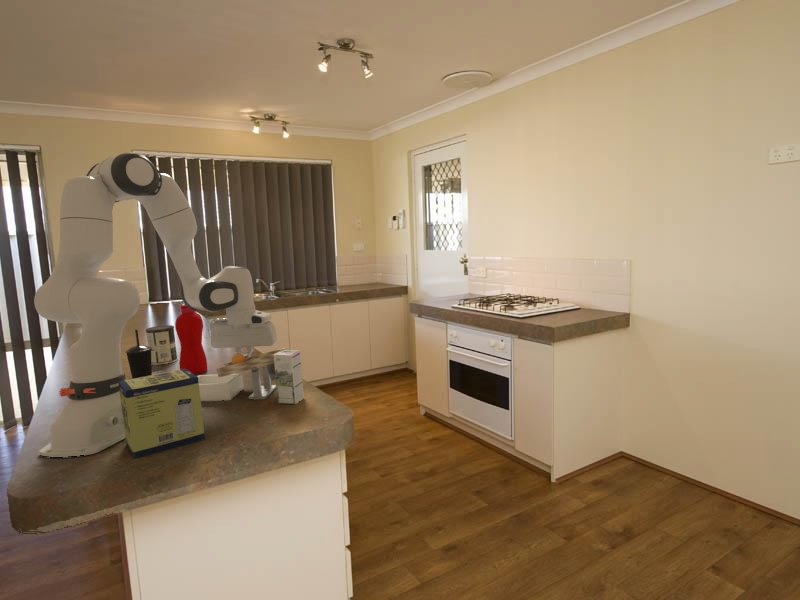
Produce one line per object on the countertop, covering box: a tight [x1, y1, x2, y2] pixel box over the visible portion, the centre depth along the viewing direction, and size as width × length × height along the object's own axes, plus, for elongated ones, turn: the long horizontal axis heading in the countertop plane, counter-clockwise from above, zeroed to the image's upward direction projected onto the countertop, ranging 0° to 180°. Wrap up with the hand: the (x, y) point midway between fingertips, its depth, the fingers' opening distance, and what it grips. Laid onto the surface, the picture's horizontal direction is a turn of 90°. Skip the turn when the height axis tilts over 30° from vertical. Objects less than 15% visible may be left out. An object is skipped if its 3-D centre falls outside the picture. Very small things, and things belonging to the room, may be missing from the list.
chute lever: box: [216, 347, 288, 382], centre depth 154 cm, size 20×14×8 cm
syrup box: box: [274, 349, 305, 405], centre depth 141 cm, size 6×6×14 cm
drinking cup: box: [125, 329, 153, 379], centre depth 160 cm, size 8×8×20 cm
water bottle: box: [174, 304, 210, 375], centre depth 180 cm, size 9×11×25 cm
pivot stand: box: [248, 365, 277, 400], centre depth 151 cm, size 12×5×10 cm, turn 177°
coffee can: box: [145, 324, 179, 366], centre depth 200 cm, size 10×10×14 cm
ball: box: [231, 353, 246, 365], centre depth 150 cm, size 4×4×4 cm
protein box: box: [118, 369, 206, 459], centre depth 116 cm, size 10×16×16 cm
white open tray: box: [196, 372, 245, 402], centre depth 152 cm, size 11×14×5 cm
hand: (245, 360), depth 158 cm, fingers closed
